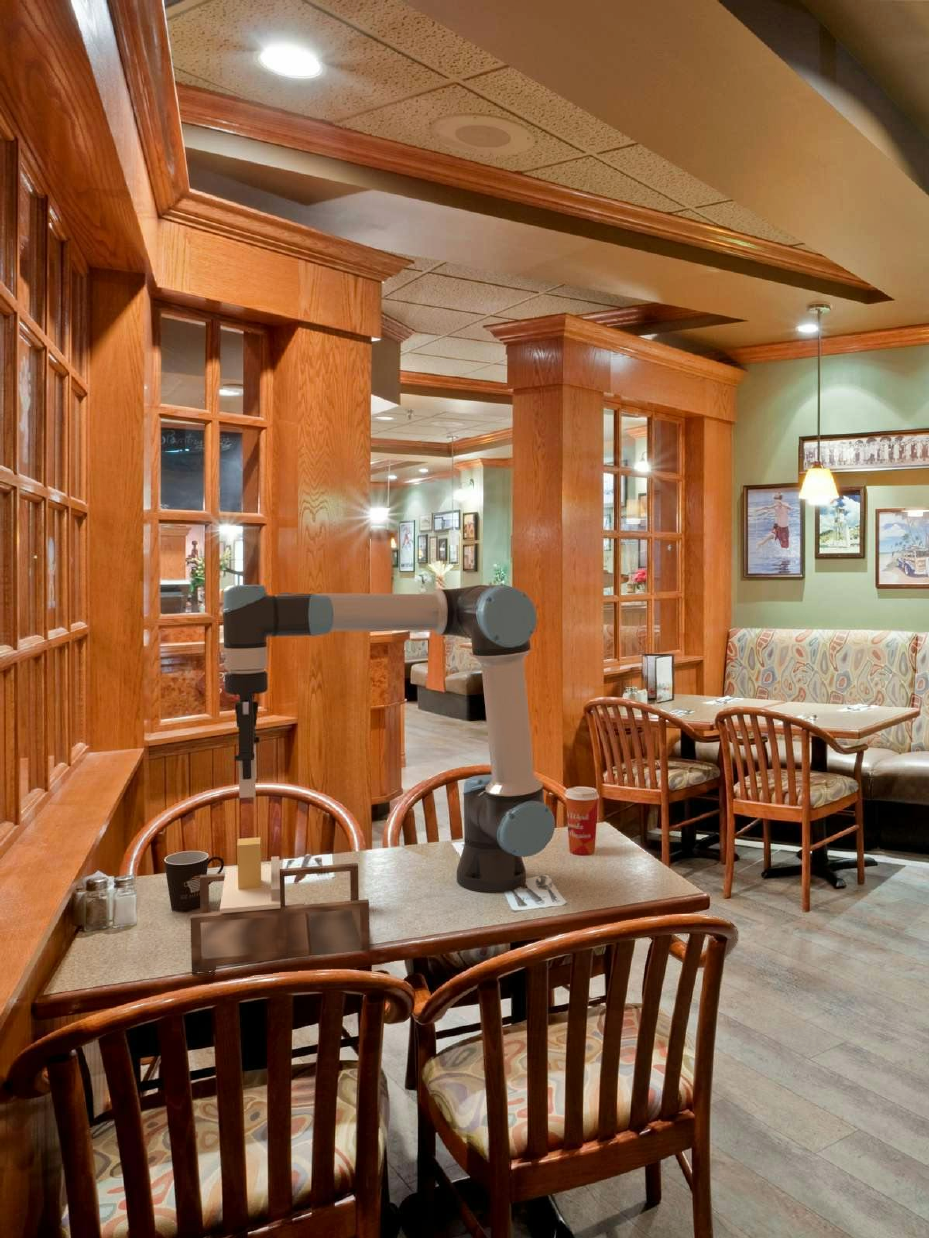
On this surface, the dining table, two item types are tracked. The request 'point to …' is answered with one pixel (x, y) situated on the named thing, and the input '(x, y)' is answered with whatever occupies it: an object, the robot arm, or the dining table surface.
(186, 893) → the coffee mug
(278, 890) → the lid
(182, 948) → the dining table surface
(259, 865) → the block
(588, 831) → the coffee cup
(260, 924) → the wooden organizer rack
